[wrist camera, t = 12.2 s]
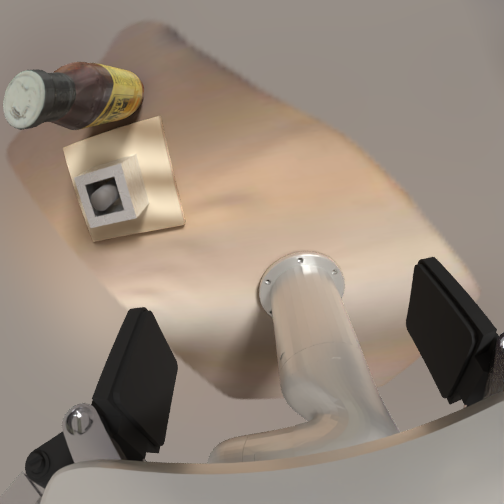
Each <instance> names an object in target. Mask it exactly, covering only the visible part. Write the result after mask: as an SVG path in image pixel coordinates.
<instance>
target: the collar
mask: <svg viewBox="0 0 504 504" xmlns="http://www.w3.org/2000/svg"><path fill="white" fill-rule="evenodd" d="M111 177H115V181H116V184H117V188H118V191H119V194H120V198H121V200H118V201H115V202H114V203H113V204H112V205H110V206H109V207H108V208H107V209H106V210H104V211H99V210H97V209H95V208H94V207H93V205H92V203H91V196H92V194H93V193H94V192H95V191H96V190H97V189H99V188H100V187H101V186H103V185H104V184H106V182H105V179H107V178H111ZM74 180H75V183H76V186H77V189H78V193H79V196H80V199H81V202H82V205H83V208H84V211H85V214H86V217H87V219H88V222H89V225H90V228H94V227H98V226H103V225H107V224H112V223H116V222H121V221H126V220H131V219H135V218H137V217H138V216H139V215H140V214H141V212H142V211H143V210H144V209H145V207H146V206H147V205H148V204H149V200H148V196H147V193H146V189H145V185H144V182H143V178H142V174H141V170H140V166H139V162H138V158H137V154H135V155H131V156H128V157H124V158H120V159H117V160H114V161H110V162H107V163H104V164H100V165H97V166H94V167H92V168H90V169H88V170H86V171H85V172H83V173H81V174H80V175H78V176H76V177H74Z"/></svg>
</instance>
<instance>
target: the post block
mask: <svg viewBox="0 0 504 504" xmlns="http://www.w3.org/2000/svg"><path fill="white" fill-rule="evenodd" d="M63 150H64V154H65V158H66V162H67V165H68V169H69V172H70V176H71V179H72V182H73V186H74V189H75V192H76V195H77V198H78V201H79V204H80V207H81V210H82V213H83V216H84V219H85V221H86V224H87V227H88V230H89V232H90V235H91V238H92V240H93V242H96V241H101V240H106V239H111V238H116V237H121V236H127V235H132V234H137V233H142V232H148V231H153V230H159V229H164V228H170V227H175V226H181V225H185V223H186V220H185V216H184V213H183V209H182V205H181V201H180V197H179V193H178V189H177V185H176V181H175V176H174V172H173V168H172V164H171V159H170V155H169V151H168V146H167V142H166V137H165V132H164V128H163V123H162V118H161V116H157V117H154V118H150V119H146V120H143V121H139V122H136V123H132V124H129V125H126V126H123V127H120V128H116V129H113V130H110V131H107V132H104V133H101V134H99V135H96V136H93V137H90V138H87V139H85V140H82V141H79V142H77V143H74V144H72V145H69V146H67V147H64V148H63ZM135 154H137V158H138V162H139V166H140V170H141V174H142V178H143V182H144V185H145V189H146V193H147V196H148V200H149V204H148V205H147V206H146V207H145V209H144V210H143V211H142V212H141V214H140V215H139V216H138V217H137V218H135V219H131V220H126V221H121V222H116V223H112V224H107V225H103V226H98V227H94V228H90V225H89V222H88V219H87V217H86V214H85V211H84V208H83V205H82V202H81V199H80V196H79V193H78V189H77V186H76V183H75V180H74V177H76V176H78V175H80V174H81V173H83V172H85V171H86V170H88V169H90V168H92V167H94V166H97V165H100V164H104V163H107V162H110V161H114V160H117V159H120V158H124V157H128V156H131V155H135ZM105 182H106V184H104V185H103V186H101V187H100V188H99V189H97V190H96V191H95V192H94V193H93V194H92V196H91V203H92V205H93V207H94V208H95V209H97V210H99V211H104V210H106V209H107V208H108V207H109V206H110V205H112V204H113V203H114V202H115V201H118V200H121V198H120V194H119V191H118V188H117V184H116V181H115V177H111V178H107V179H105Z"/></svg>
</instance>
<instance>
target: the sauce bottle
mask: <svg viewBox="0 0 504 504" xmlns="http://www.w3.org/2000/svg"><path fill="white" fill-rule="evenodd" d="M143 92H144V87H143V84H142V82H141V81H140V79H139V78H138V77H137V76H136V75H135V74H134V73H132V72H130V71H127V70H123V69H119V68H114V67H110V66H105V65H101V64H96V63H86V62H74V63H70V64H67V65H65V66H62V67H60V68H59V69H57V70H56V71H54V72H53V73H46V72H45V71H43V70H26V71H23V72H21V73H19V74H18V75H17V76H16V77H15V78H14V79H13V80H12V81H11V82H10V84H9V85H8V87H7V89H6V92H5V97H4V102H3V110H4V114H5V118H6V120H7V122H8V123H9V124H10V125H11V126H13V127H14V128H17V129H20V130H21V129H29V128H33V127H36V126H38V125H40V124H41V123H44V122H52V123H55V124H58V125H60V126H63V127H65V128H68V129H71V130H79V129H83V128H87V127H91V126H96V125H100V124H104V123H108V122H113V121H117V120H121V119H124V118H126V117H128V116H130V115H131V114H132V113H134V112H135V111H136V110H137V109H138V107H139V106H140V105H141V103H142V100H143V95H144V93H143Z"/></svg>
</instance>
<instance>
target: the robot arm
mask: <svg viewBox="0 0 504 504" xmlns="http://www.w3.org/2000/svg"><path fill="white" fill-rule="evenodd" d="M344 289H345V281H344V277H343V274H342V272H341V270H340V268H339V266H338V265H337V264H336V263H335V262H334V261H333V260H332V259H331V258H329V257H327V256H325V255H323V254H320V253H316V252H306V251H305V252H297V253H293V254H289V255H287V256H285V257H282V258H280V259H279V260H277V261H276V262H275V263H273V264H272V265H271V266H270V267H269V268H268V269H267V271H266V272H265V273H264V275H263V277H262V279H261V282H260V286H259V297H260V302H261V305H262V307H263V309H264V310H265V311H266V313H267V314H269V315H270V316H271V317H272V318H273V324H274V333H275V342H276V351H277V360H278V369H279V378H280V386H281V390H282V394H283V396H284V398H285V400H286V401H287V403H288V405H289V406H290V407H291V408H292V409H293V410H294V411H295V412H296V413H297V414H299V415H300V416H301V417H303V418H304V419H305V420H307V421H308V422H306V423H302V424H298V425H295V426H293V427H287V428H283V429H278V430H272V431H267V432H261V433H256V434H250V435H244V436H239V437H234V438H231V439H228V440H225V441H223V442H221V443H220V444H219V445H217V446H216V447H215V448H214V449H213V451H212V452H211V454H210V456H209V460H208V463H207V464H191V463H190V464H189V463H187V464H186V463H160V462H147V461H146V460H145V456H146V452H150V453H159V449H160V446H162V445H163V444H164V441H165V436H166V430H167V424H168V418H169V413H170V406H171V402H172V396H173V391H174V385H175V380H176V375H177V370H178V365H177V361H176V359H175V357H174V355H173V353H172V351H171V349H170V347H169V345H168V343H167V341H166V339H165V338H164V336H163V334H162V331H161V329H160V327H159V325H158V323H157V321H156V319H155V317H154V315H153V313H152V312H151V311H148V310H147V309H146V308H145V307H142V308H134V309H130V310H129V311H128V313H127V315H126V318H125V320H124V322H123V324H122V326H121V328H120V331H119V333H118V335H117V338H116V340H115V342H114V345H113V347H112V349H111V352H110V354H109V357H108V359H107V361H106V364H105V367H104V369H103V371H102V374H101V376H100V379H99V381H98V384H97V387H96V390H95V393H94V395H93V397H92V399H93V401H92V404H91V405H90V404H86V403H82V404H78V405H75V406H73V407H72V408H71V409H69V410H68V412H67V413H66V414H65V416H64V418H63V421H62V429H63V432H61V433H60V434H58V435H57V436H55V437H54V438H52V439H51V440H50V441H48V442H46V443H45V444H43V445H41V446H40V447H39V448H37V449H35V450H34V451H33V452H31V453H30V455H29V456H28V458H27V460H26V464H25V470H26V473H24V472H21V473H20V474H19V475H18V477H17V478H16V479H15V480H14V481H13V482H12V484H11V485H10V486H9V487H8V488H7V489H6V491H5V492H4V493H3V494H2V495H1V496H0V504H504V332H503V333H502V334H500V336H498V334H497V333H496V331H497V329H496V328H495V327H494V326H493V324H492V323H491V321H490V320H489V319H488V318H487V316H486V315H485V314H484V313H483V311H482V310H481V309H480V308H479V306H478V305H477V304H476V303H475V302H474V300H473V299H472V298H471V297H470V296H469V294H468V293H467V292H466V291H465V290H464V289H463V288H462V286H461V285H460V284H459V283H458V282H457V281H456V280H455V278H454V277H453V276H452V275H451V274H450V273H449V272H448V271H447V270H446V269H445V268H444V266H443V265H442V264H441V263H440V262H439V261H438V260H437V259H436V258H435V257H430V258H426V259H421V260H419V262H418V265H415V267H414V274H413V281H412V289H411V295H410V302H409V308H408V314H407V319H406V327H407V330H408V332H409V334H410V336H411V337H412V339H413V341H414V343H415V345H416V346H417V348H418V350H419V352H420V354H421V356H422V358H423V359H424V361H425V363H426V365H427V367H428V369H429V371H430V373H431V375H432V377H433V379H434V381H435V383H436V385H437V387H438V389H439V391H440V393H441V395H442V397H443V398H447V400H448V402H449V404H452V403H454V402H457V401H459V400H461V399H462V401H463V403H464V408H463V409H461V410H459V411H457V412H454V413H452V414H449V415H447V416H444V417H442V418H439V419H437V420H434V421H432V422H429V423H426V424H424V425H421V426H418V427H415V428H412V429H410V430H407V431H403V432H400V430H399V429H398V427H397V425H396V423H395V422H394V420H393V418H392V416H391V415H390V413H389V411H388V409H387V408H386V406H385V404H384V402H383V400H382V398H381V396H380V394H379V392H378V390H377V387H376V385H375V383H374V380H373V378H372V375H371V373H370V370H369V368H368V365H367V362H366V360H365V357H364V355H363V352H362V349H361V347H360V344H359V341H358V339H357V336H356V334H355V331H354V329H353V326H352V324H351V321H350V319H349V316H348V314H347V311H346V309H345V306H344V304H343V302H342V296H343V294H344Z"/></svg>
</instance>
